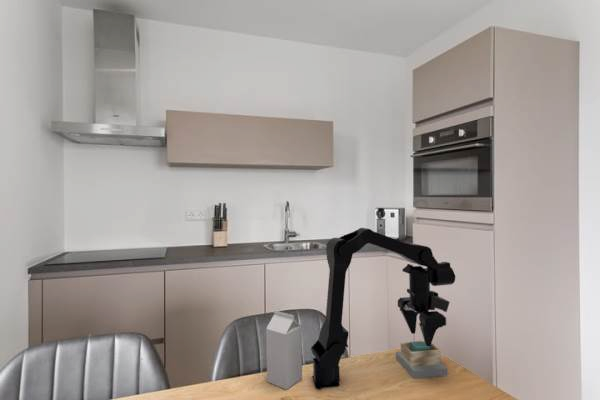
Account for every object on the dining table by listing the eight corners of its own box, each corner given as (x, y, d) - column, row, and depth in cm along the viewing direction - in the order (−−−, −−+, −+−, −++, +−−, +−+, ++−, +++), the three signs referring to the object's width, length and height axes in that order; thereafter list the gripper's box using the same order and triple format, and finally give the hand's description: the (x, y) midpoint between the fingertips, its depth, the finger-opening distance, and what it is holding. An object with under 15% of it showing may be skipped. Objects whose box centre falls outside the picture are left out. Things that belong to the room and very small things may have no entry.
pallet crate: (411, 366, 98) (411, 352, 98) (400, 355, 105) (400, 342, 105) (440, 364, 99) (440, 350, 99) (428, 353, 106) (428, 340, 106)
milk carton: (286, 390, 91) (285, 319, 91) (266, 382, 96) (265, 314, 96) (302, 379, 97) (301, 311, 97) (283, 371, 101) (282, 307, 101)
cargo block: (417, 360, 100) (416, 348, 100) (410, 354, 104) (410, 342, 104) (429, 359, 100) (429, 347, 100) (422, 353, 104) (422, 341, 104)
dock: (414, 380, 95) (413, 371, 95) (396, 360, 107) (395, 352, 107) (447, 377, 97) (447, 368, 97) (426, 357, 109) (425, 349, 109)
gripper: (463, 294, 94) (464, 351, 94) (428, 278, 112) (429, 326, 112) (425, 296, 92) (426, 354, 92) (396, 280, 111) (397, 328, 111)
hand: (420, 339), depth 102 cm, fingers open, 9 cm apart
